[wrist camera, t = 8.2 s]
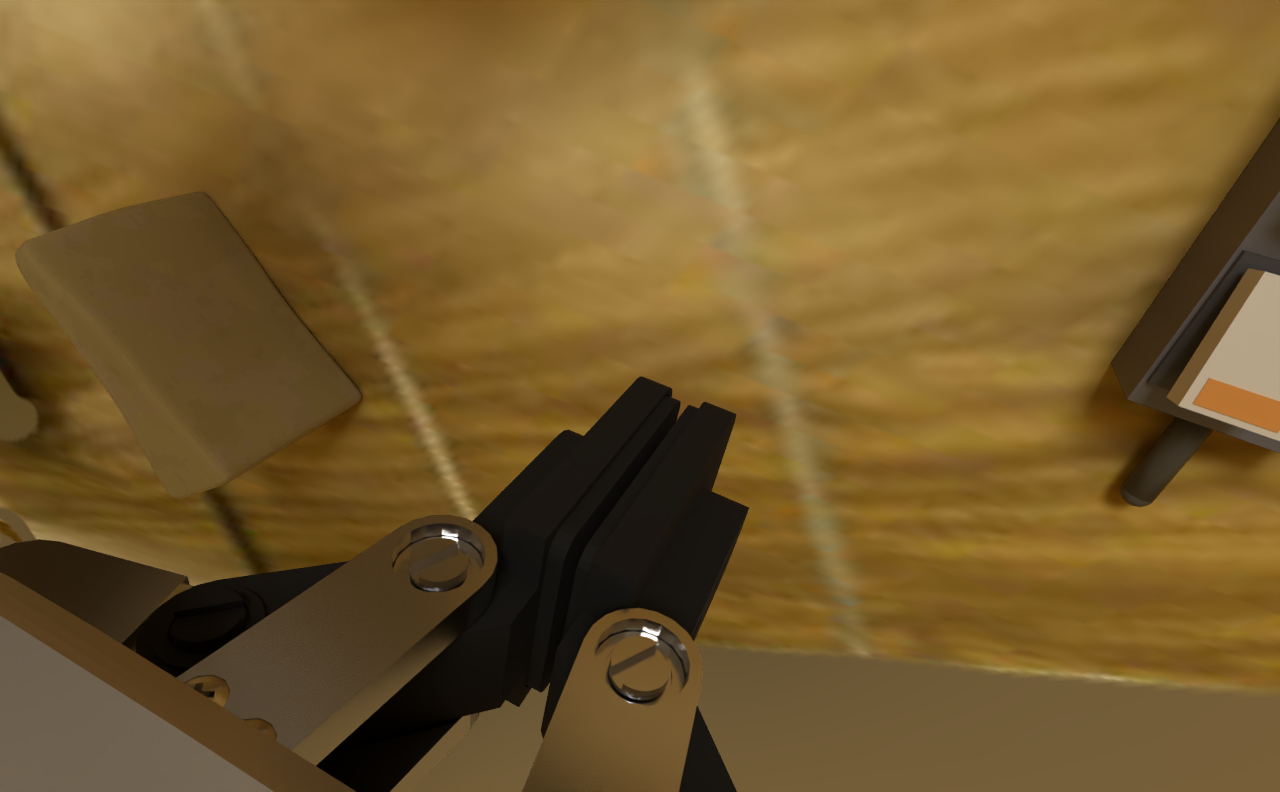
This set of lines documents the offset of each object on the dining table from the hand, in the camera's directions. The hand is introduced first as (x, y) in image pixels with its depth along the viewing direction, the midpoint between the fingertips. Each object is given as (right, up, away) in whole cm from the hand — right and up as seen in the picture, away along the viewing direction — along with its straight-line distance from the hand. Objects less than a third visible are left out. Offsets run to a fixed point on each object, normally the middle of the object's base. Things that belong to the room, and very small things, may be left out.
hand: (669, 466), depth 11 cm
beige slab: (-34, +10, +50) cm, 61 cm away
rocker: (+25, +3, +16) cm, 30 cm away
